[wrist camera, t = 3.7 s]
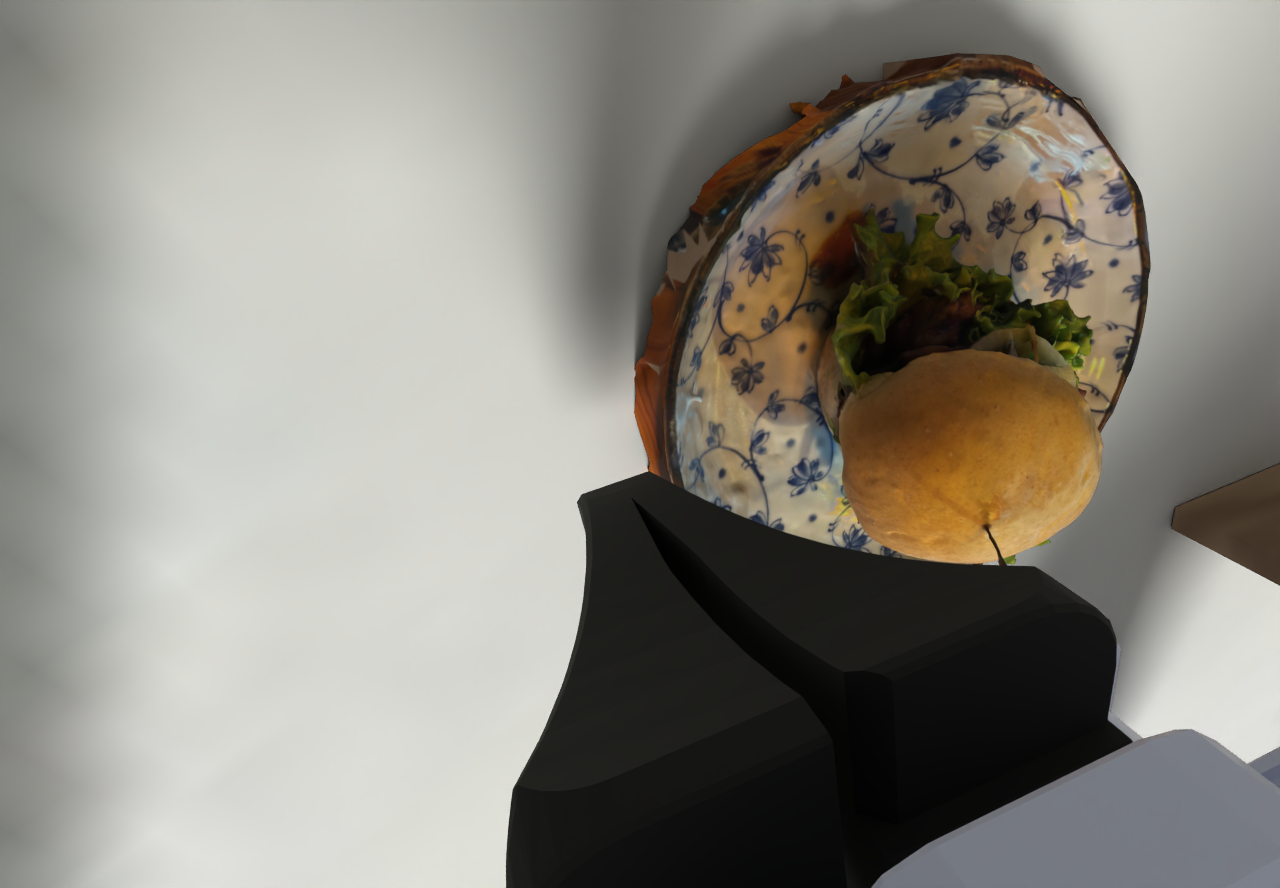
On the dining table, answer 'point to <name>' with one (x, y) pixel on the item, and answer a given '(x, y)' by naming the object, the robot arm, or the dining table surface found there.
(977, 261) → the burger
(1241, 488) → the box
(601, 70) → the dining table surface
